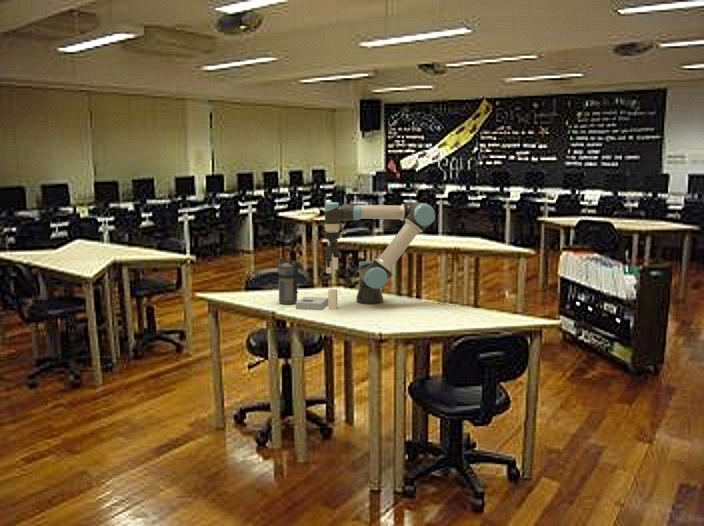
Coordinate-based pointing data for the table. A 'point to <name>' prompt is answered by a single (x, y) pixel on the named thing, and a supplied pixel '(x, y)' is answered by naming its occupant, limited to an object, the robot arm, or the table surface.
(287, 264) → the beverage bottle
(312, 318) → the table surface
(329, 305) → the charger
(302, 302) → the grey block with hole
